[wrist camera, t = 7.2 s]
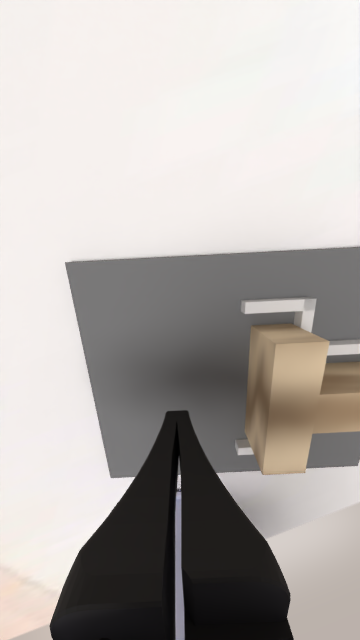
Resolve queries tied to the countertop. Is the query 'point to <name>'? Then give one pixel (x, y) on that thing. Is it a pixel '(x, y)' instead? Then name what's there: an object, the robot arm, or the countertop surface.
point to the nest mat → (205, 344)
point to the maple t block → (295, 396)
